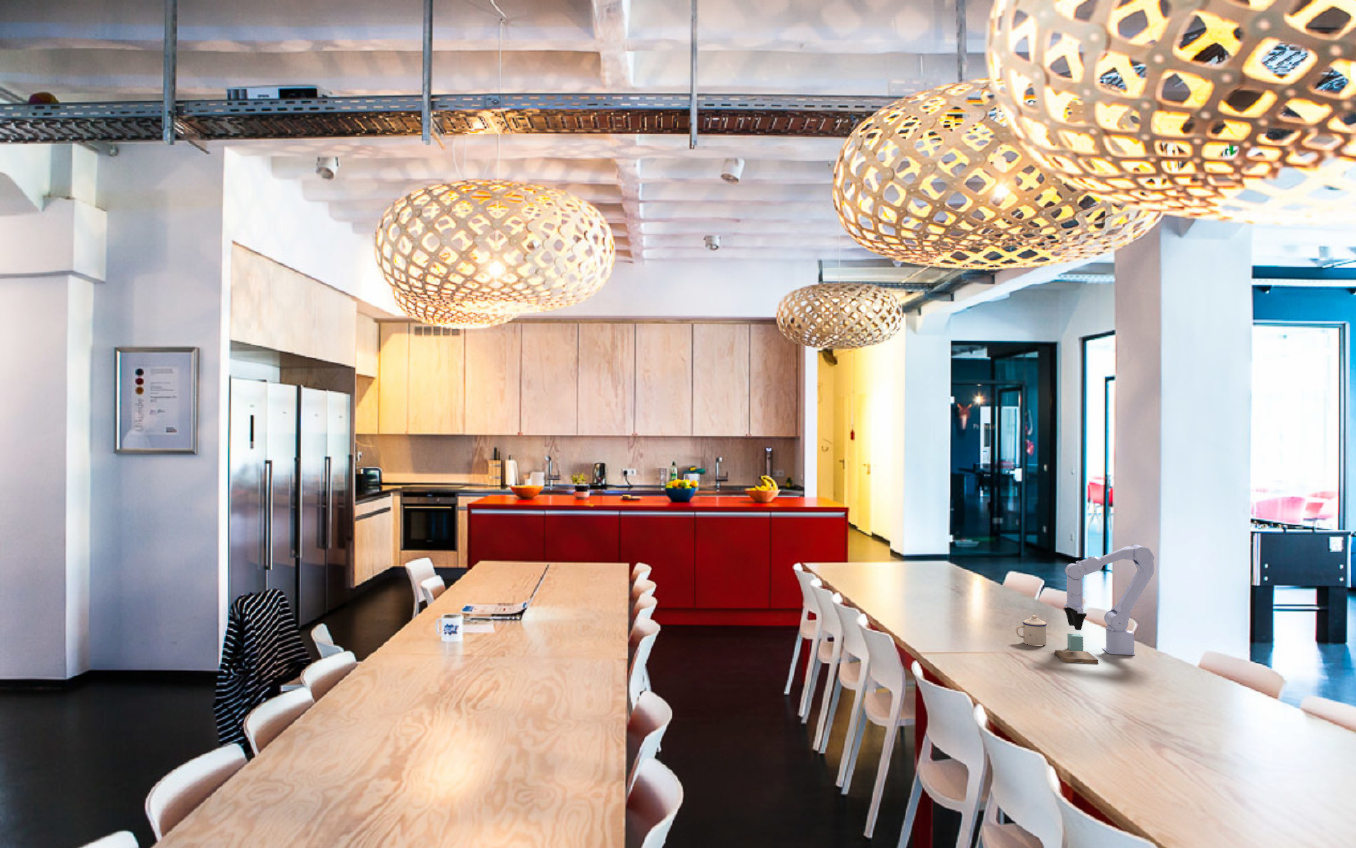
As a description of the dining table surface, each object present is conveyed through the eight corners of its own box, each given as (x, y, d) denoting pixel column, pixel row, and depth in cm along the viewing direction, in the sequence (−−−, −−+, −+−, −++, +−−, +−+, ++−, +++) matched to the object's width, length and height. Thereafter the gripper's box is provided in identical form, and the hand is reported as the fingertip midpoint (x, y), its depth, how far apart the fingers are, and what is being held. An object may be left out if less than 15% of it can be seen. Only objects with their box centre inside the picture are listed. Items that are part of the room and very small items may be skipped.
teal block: (1079, 648, 317) (1079, 634, 318) (1083, 651, 313) (1083, 636, 313) (1067, 648, 318) (1067, 633, 318) (1071, 651, 314) (1070, 636, 314)
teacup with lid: (1043, 641, 329) (1042, 613, 329) (1049, 647, 320) (1049, 618, 320) (1012, 640, 330) (1012, 612, 331) (1019, 646, 321) (1018, 617, 322)
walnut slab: (1087, 655, 307) (1087, 651, 307) (1098, 663, 296) (1098, 659, 296) (1054, 653, 309) (1054, 650, 309) (1064, 662, 298) (1064, 658, 298)
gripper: (1058, 590, 324) (1058, 623, 324) (1069, 597, 310) (1070, 631, 309) (1076, 590, 323) (1077, 624, 322) (1088, 597, 308) (1089, 632, 308)
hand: (1075, 627), depth 316 cm, fingers open, 7 cm apart
